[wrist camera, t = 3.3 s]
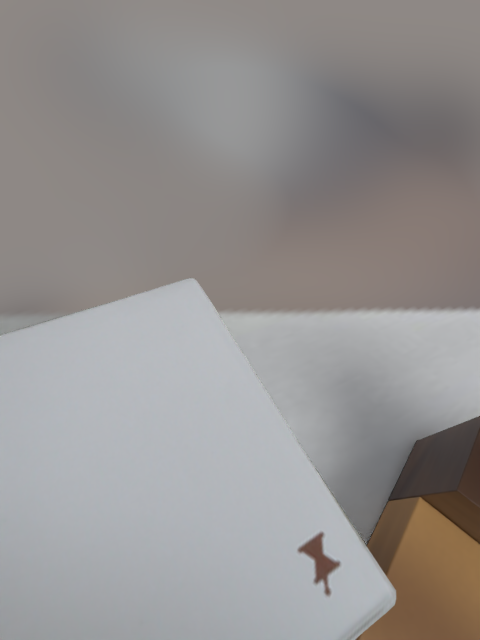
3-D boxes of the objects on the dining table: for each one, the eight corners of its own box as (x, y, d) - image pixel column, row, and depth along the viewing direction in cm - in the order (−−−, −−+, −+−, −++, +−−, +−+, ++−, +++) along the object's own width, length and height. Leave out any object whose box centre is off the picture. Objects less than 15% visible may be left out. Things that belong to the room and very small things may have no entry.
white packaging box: (195, 434, 18) (204, 266, 8) (264, 586, 15) (427, 613, 5) (49, 504, 15) (-203, 377, 5) (88, 713, 12) (-459, 1481, 2)
